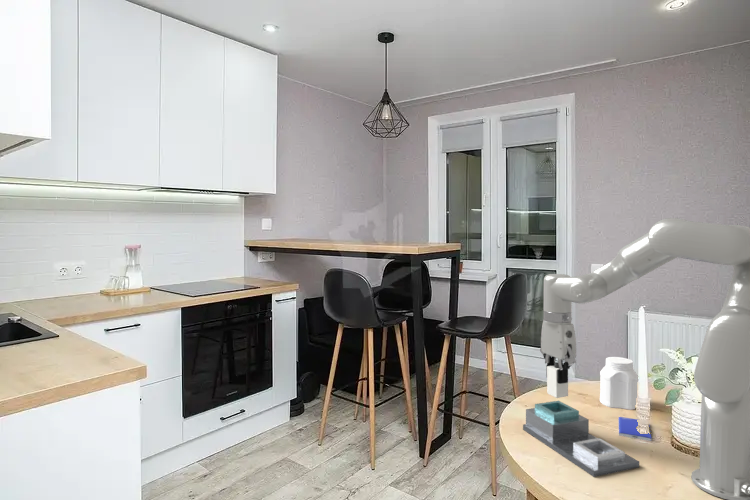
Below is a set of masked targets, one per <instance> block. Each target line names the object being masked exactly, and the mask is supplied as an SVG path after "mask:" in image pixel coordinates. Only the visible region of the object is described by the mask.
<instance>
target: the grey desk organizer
mask: <svg viewBox="0 0 750 500" xmlns="http://www.w3.org/2000/svg"><path fill="white" fill-rule="evenodd" d="M589 420H590V419H589V418H586V416H585V417H584V416H583V415H581V414H580V411H579V410H578V409H576V408H574V407H572V406H570V405H568V404H566V403H564V402H562V401H560V400H554V401H547V402H541V403H535V404H534V407H532V408H531V407H530V408H526V409H525V423H524V424H522V430H523V431H525V432H526V433H528V434H529V435H531V436H532V437H534V438H536V439H537V440H538V441H539V442H541V443H542V444H544V445H546V446H547V447H549V448H550V449H552V450H553V451H554V452H555V453H557V454H559V455H560V456H561V457H563V458H565V459H567V460H568V461H569V462H571V463H572V464H574V465H575V466H577V467H579V468H580V469H581V470H583V471H585V472H586V473H587V474H589V475H590V476H592V477H593V478H595V477H600V476H606V475H610V474H614V473H619V472H625V471H629V470H634V469H638V468H640V461H639V460H637V459H636V458H634V457H632V456H630V455H628V454H627V453H625V451H624V450H622V449H620V448H618V447H617V446H615V445H613V444H611V443H609V442H608V441H605V440H604V439H602V438H600V437H597V436H595V435H592V434H591V433H589V431H590V430H589V427H590V426H589V425H590V424H589V423H590V422H589Z"/></svg>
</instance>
